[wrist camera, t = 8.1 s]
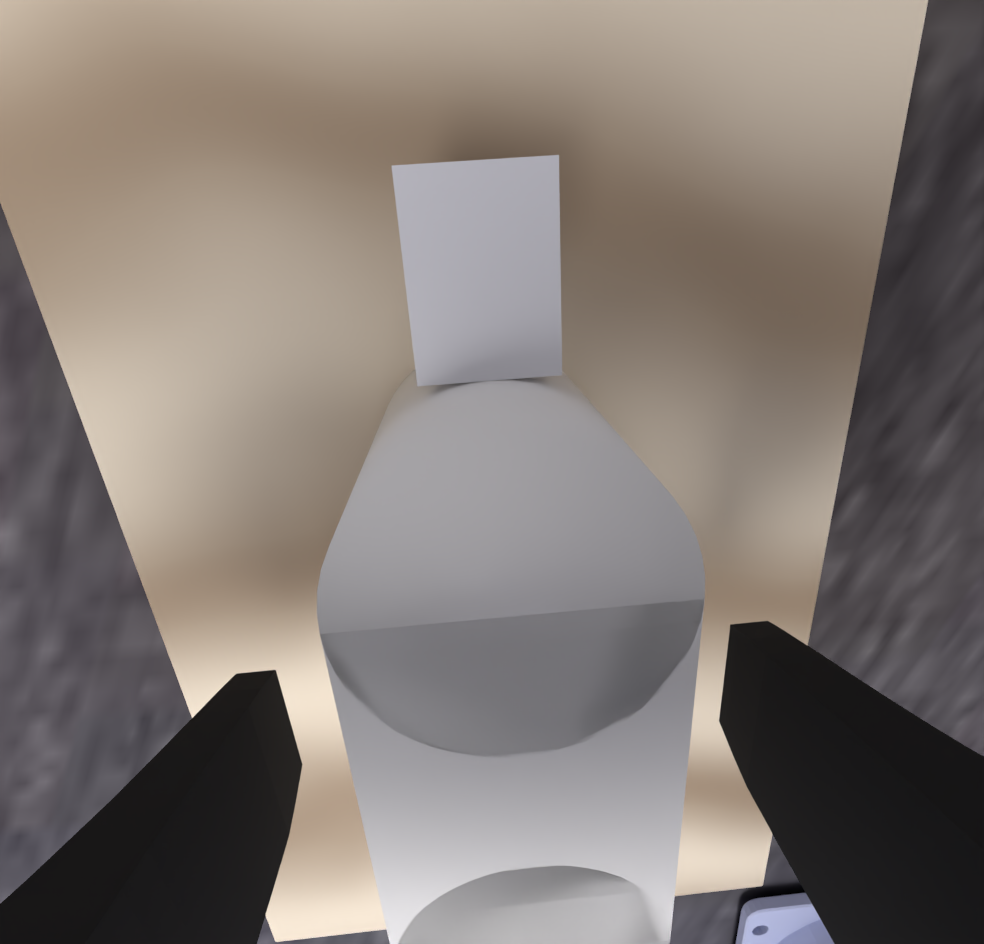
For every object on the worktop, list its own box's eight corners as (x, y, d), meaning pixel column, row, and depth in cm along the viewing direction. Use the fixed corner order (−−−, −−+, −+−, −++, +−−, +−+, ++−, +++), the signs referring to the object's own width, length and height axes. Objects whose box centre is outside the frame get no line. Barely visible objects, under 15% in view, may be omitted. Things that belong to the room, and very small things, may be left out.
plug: (591, 750, 13) (662, 1015, 9) (427, 767, 13) (412, 1044, 9) (595, 178, 9) (754, 103, 4) (340, 196, 9) (207, 136, 4)
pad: (745, 851, 17) (762, 886, 16) (286, 902, 16) (275, 942, 15) (899, -93, 8) (952, -134, 8) (-39, -38, 8) (-103, -75, 7)
